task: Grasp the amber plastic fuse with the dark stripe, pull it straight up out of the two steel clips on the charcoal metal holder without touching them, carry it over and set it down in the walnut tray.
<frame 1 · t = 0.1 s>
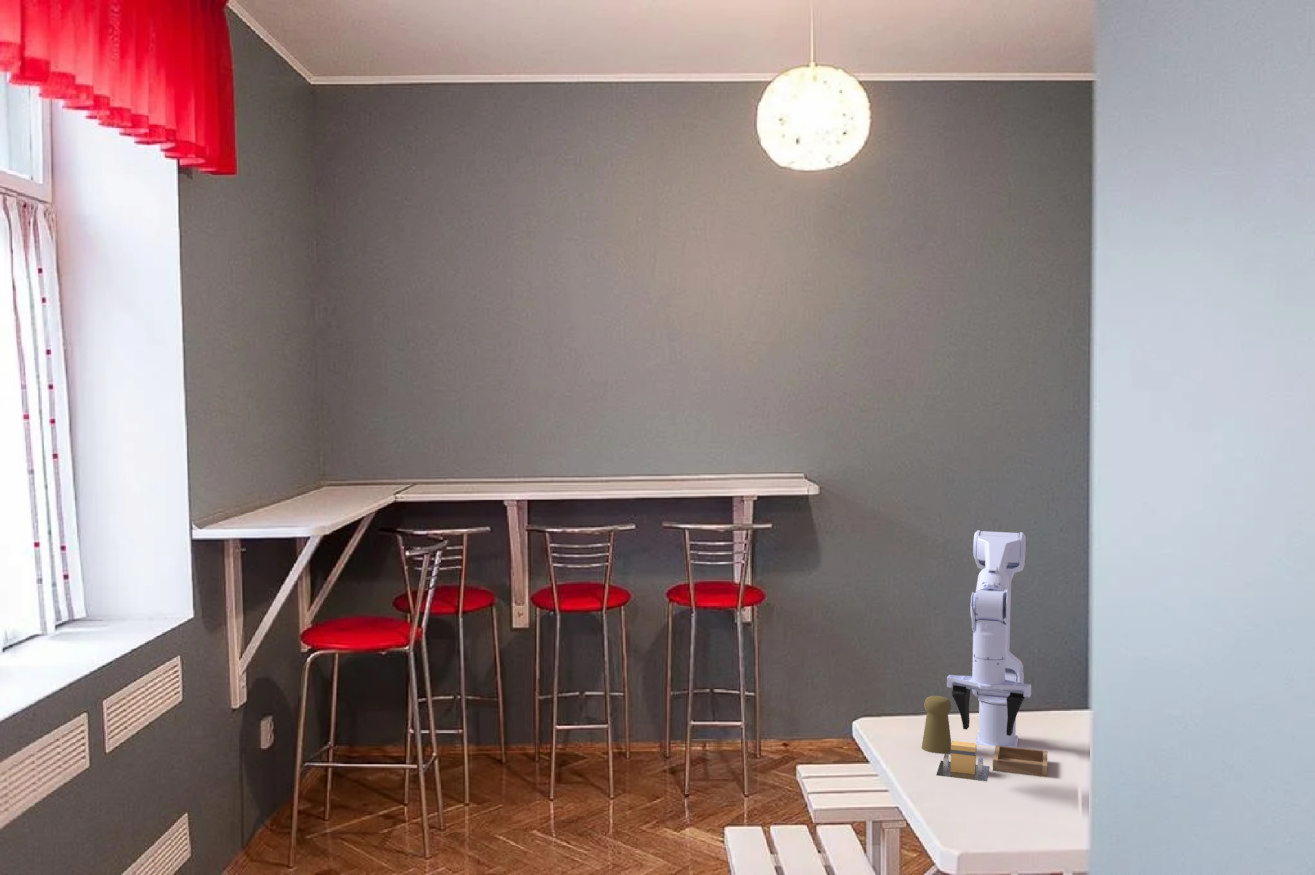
hand: (987, 731, 200), 10 cm above the table, tool pointing down, fingers open, 7 cm apart
tray: (1020, 769, 210), on the table
cork: (936, 752, 220), on the table
fuse: (963, 770, 207), point 1 cm above the table, touching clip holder
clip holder: (963, 773, 207), on the table
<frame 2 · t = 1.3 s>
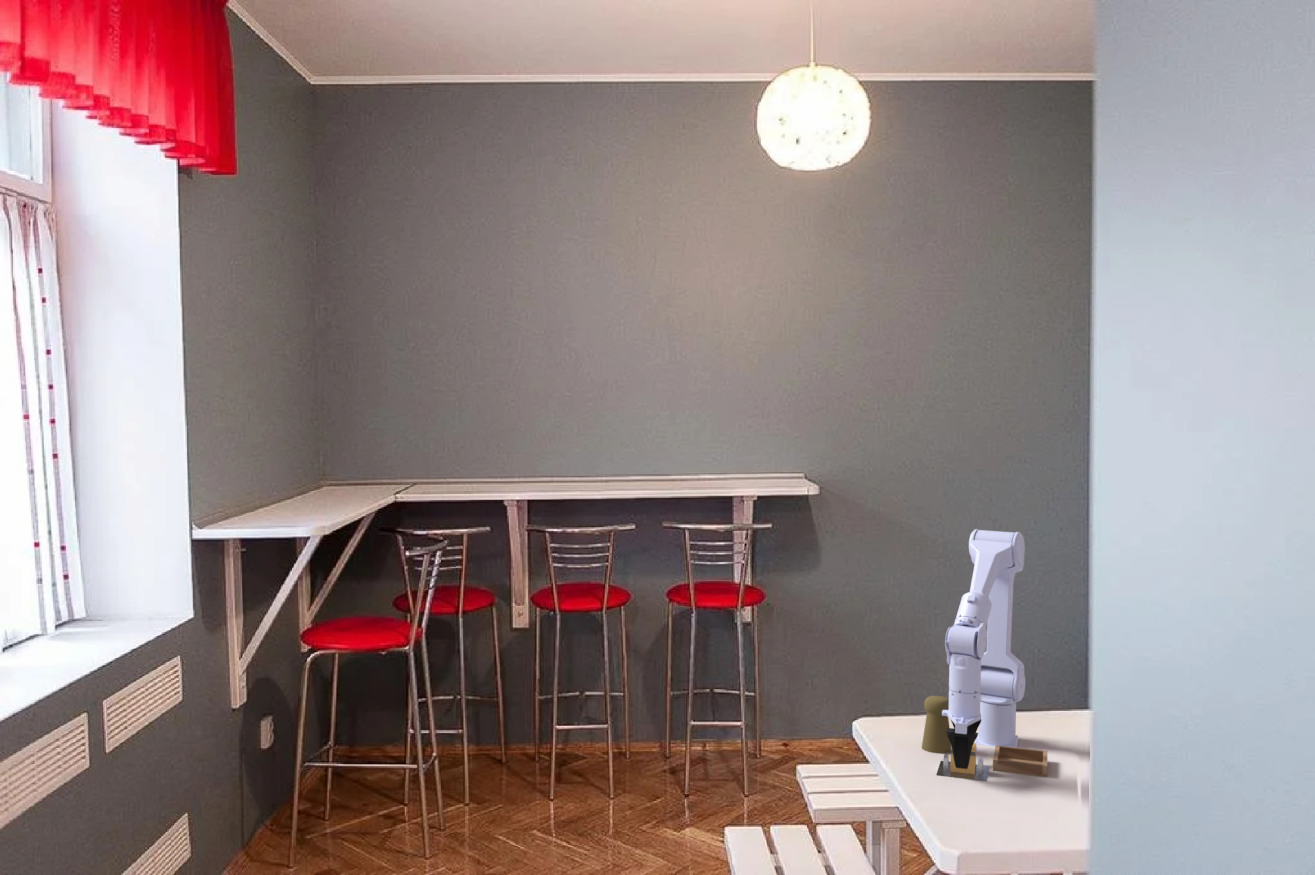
hand: (963, 762, 207), 2 cm above the table, tool pointing down, fingers open, 7 cm apart
nothing on the table moved.
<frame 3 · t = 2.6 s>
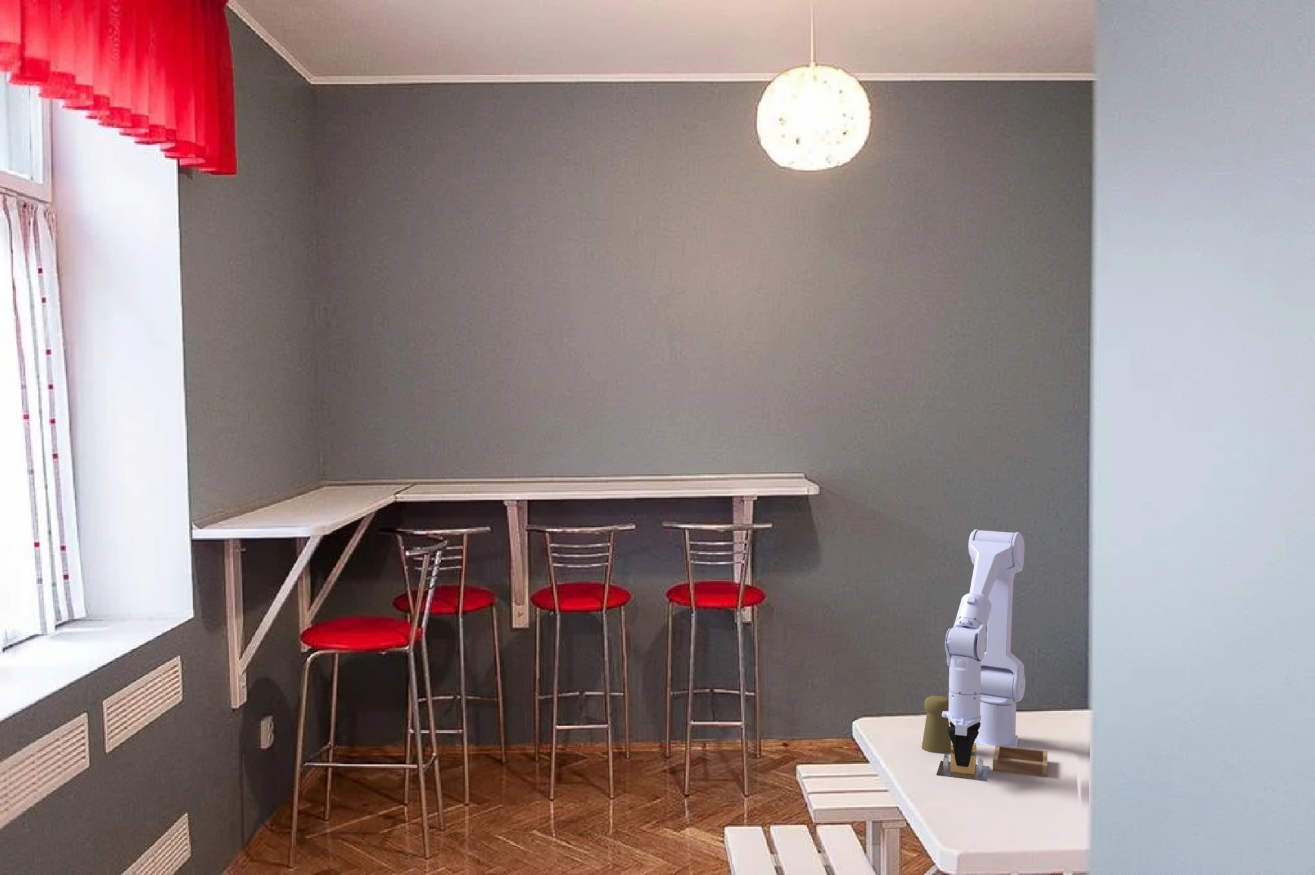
hand: (963, 763, 207), 2 cm above the table, tool pointing down, fingers closed on fuse, 3 cm apart
fuse: (963, 770, 207), point 1 cm above the table, touching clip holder, gripper
everything else where it was.
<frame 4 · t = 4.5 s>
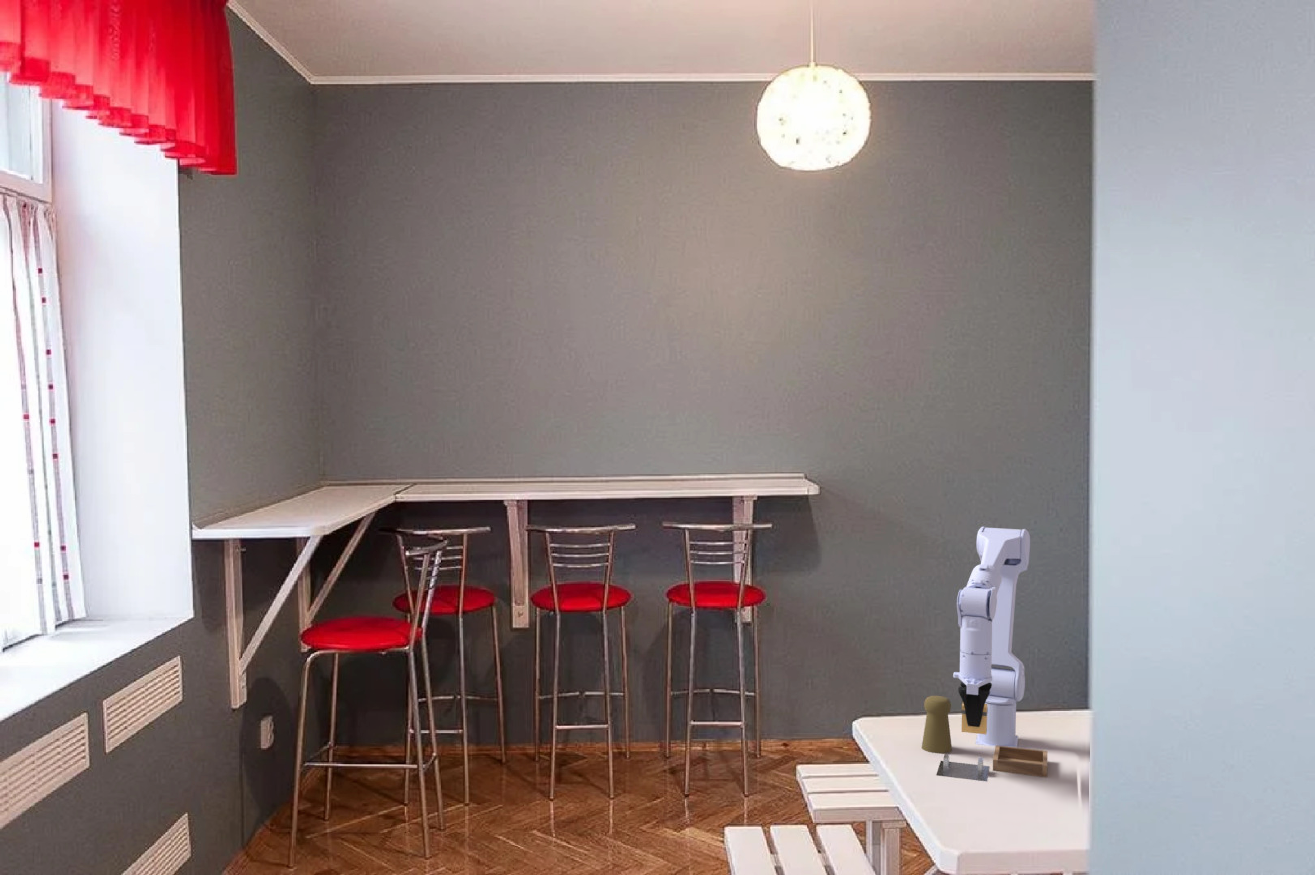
hand: (974, 723, 207), 9 cm above the table, tool pointing down, fingers closed on fuse, 3 cm apart
fuse: (974, 731, 207), point 8 cm above the table, touching gripper
everything else where it was.
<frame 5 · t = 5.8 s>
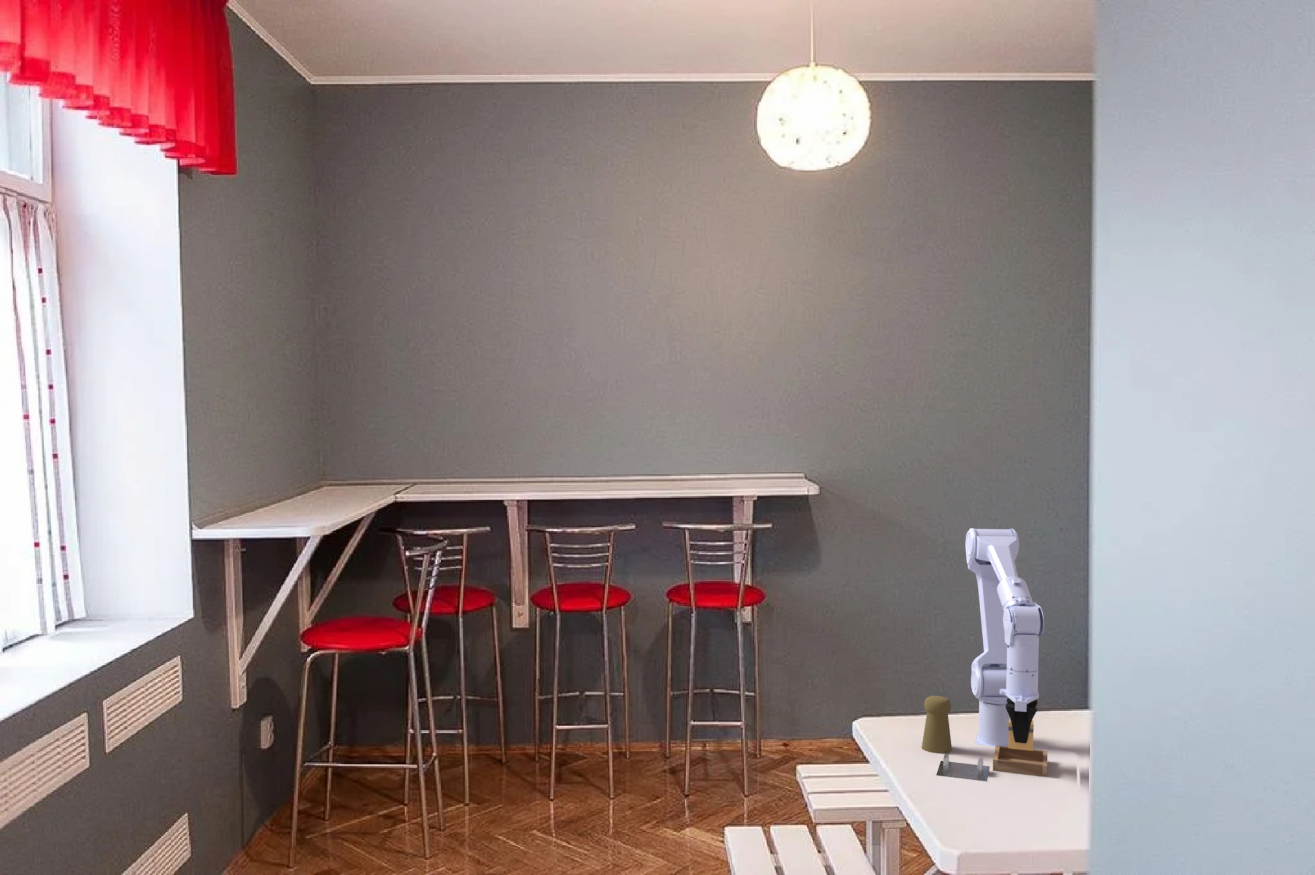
hand: (1021, 740, 210), 6 cm above the table, tool pointing down, fingers closed on fuse, 3 cm apart
fuse: (1020, 747, 210), point 4 cm above the table, touching gripper
everything else where it was.
when the fingers open (4 cm above the table, at t = 6.9 s): fuse drops 2 cm, resting on tray.
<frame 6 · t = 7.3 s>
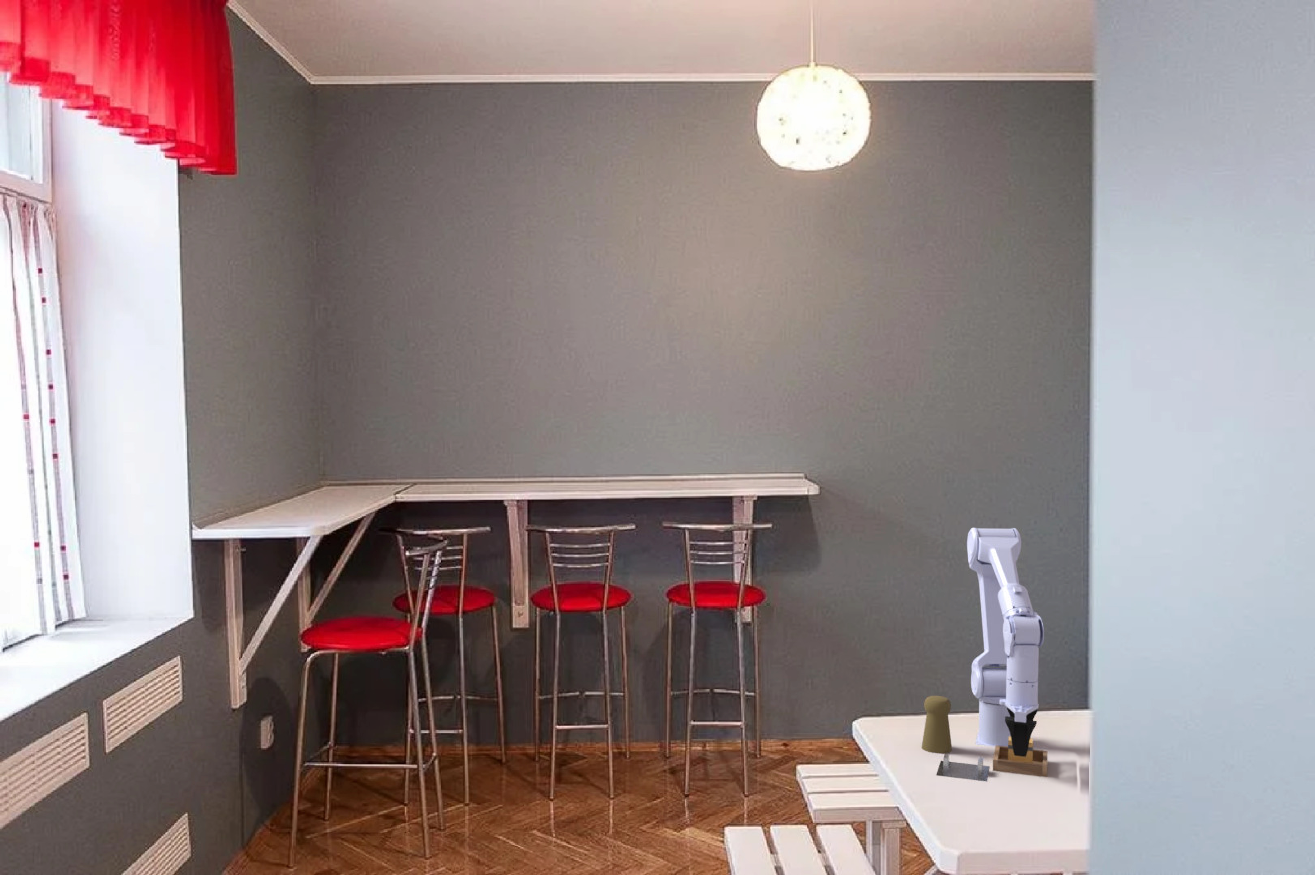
hand: (1020, 750, 210), 4 cm above the table, tool pointing down, fingers open, 7 cm apart
fuse: (1020, 765, 210), point 1 cm above the table, touching tray
everything else where it was.
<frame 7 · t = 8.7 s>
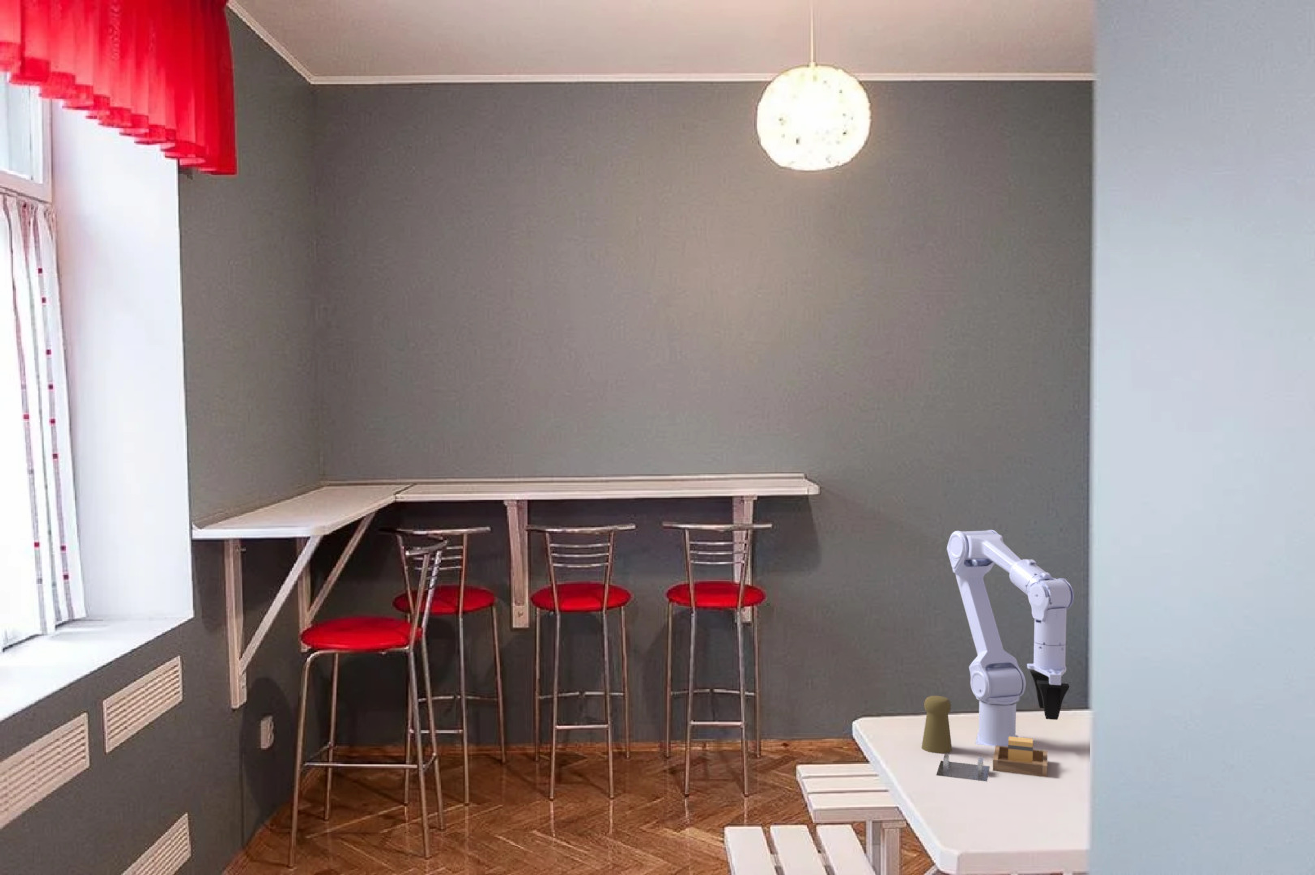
hand: (1048, 713, 211), 10 cm above the table, tool pointing down, fingers open, 7 cm apart
nothing on the table moved.
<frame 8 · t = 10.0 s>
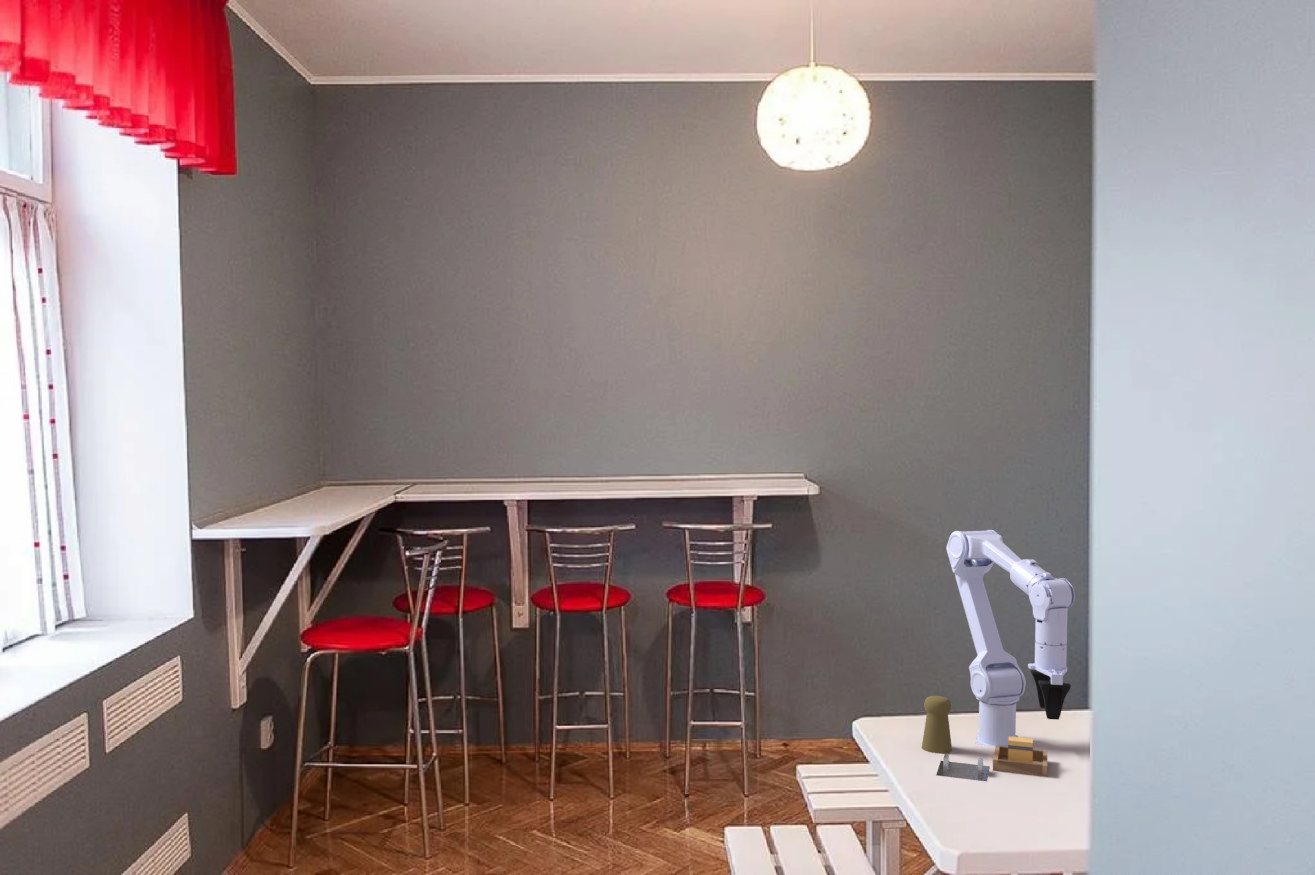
hand: (1049, 713, 211), 10 cm above the table, tool pointing down, fingers open, 7 cm apart
nothing on the table moved.
at the end: fuse 0.0 cm off-centre on the tray, point 0.6 cm above the tray's base; fuse tilted 0°; the gripper is holding nothing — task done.
